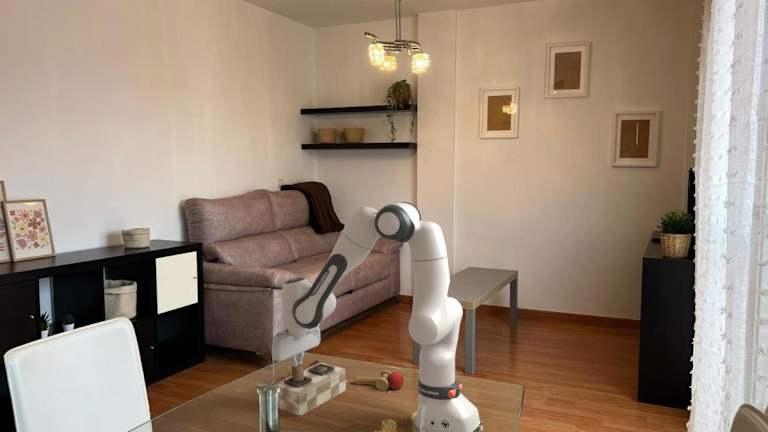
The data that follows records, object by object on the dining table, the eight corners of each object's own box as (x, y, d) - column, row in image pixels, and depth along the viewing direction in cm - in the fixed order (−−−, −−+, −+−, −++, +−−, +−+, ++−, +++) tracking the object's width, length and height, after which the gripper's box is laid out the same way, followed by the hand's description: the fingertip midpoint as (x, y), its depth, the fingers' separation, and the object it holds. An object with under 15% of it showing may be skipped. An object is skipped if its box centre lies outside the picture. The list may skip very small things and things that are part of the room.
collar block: (345, 390, 206) (345, 366, 205) (299, 416, 187) (298, 389, 186) (320, 383, 213) (319, 359, 212) (273, 407, 193) (272, 381, 192)
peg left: (306, 389, 195) (306, 365, 194) (298, 393, 192) (297, 369, 191) (298, 386, 197) (297, 362, 196) (290, 390, 194) (289, 366, 193)
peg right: (330, 390, 205) (329, 367, 204) (322, 394, 202) (322, 371, 201) (321, 388, 207) (320, 365, 206) (314, 391, 204) (313, 369, 203)
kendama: (353, 392, 208) (401, 391, 202) (352, 375, 208) (399, 372, 203) (361, 388, 215) (407, 386, 210) (359, 371, 216) (405, 368, 210)
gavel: (307, 354, 235) (331, 356, 232) (308, 365, 235) (331, 367, 232) (287, 370, 214) (312, 372, 212) (287, 383, 214) (312, 385, 212)
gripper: (280, 336, 181) (281, 378, 183) (322, 319, 198) (323, 358, 200) (266, 332, 185) (268, 373, 187) (309, 317, 202) (310, 354, 203)
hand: (297, 365), depth 193 cm, fingers closed, pressing on peg left
